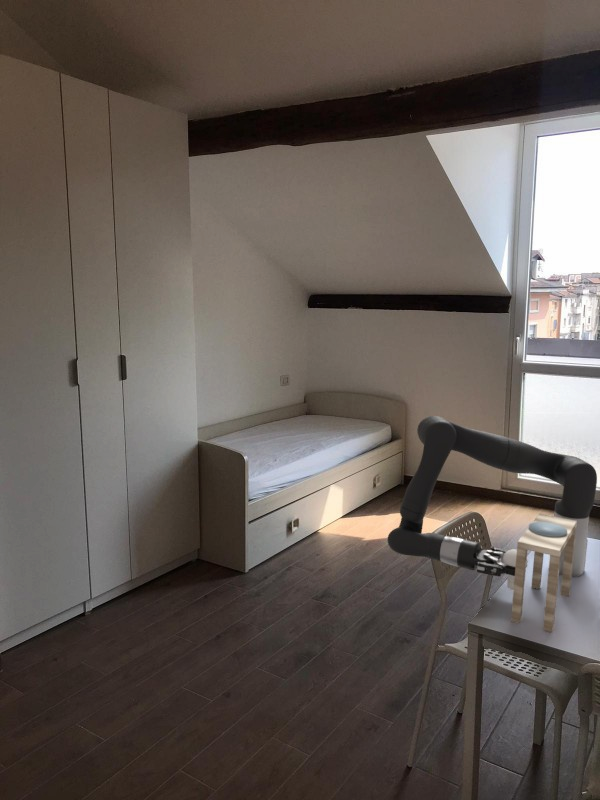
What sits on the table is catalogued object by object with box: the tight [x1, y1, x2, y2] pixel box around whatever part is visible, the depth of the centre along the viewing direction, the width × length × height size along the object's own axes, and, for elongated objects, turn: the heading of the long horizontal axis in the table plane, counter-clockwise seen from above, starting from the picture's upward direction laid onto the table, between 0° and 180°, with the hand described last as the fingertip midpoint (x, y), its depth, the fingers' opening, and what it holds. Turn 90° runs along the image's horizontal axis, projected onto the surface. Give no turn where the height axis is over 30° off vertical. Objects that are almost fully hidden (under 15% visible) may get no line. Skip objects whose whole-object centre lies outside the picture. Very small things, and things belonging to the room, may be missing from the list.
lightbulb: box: [503, 548, 528, 591], centre depth 168 cm, size 6×6×11 cm
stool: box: [510, 513, 577, 633], centre depth 164 cm, size 24×10×21 cm, turn 148°
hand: (523, 568), depth 167 cm, fingers closed on lightbulb, 5 cm apart
